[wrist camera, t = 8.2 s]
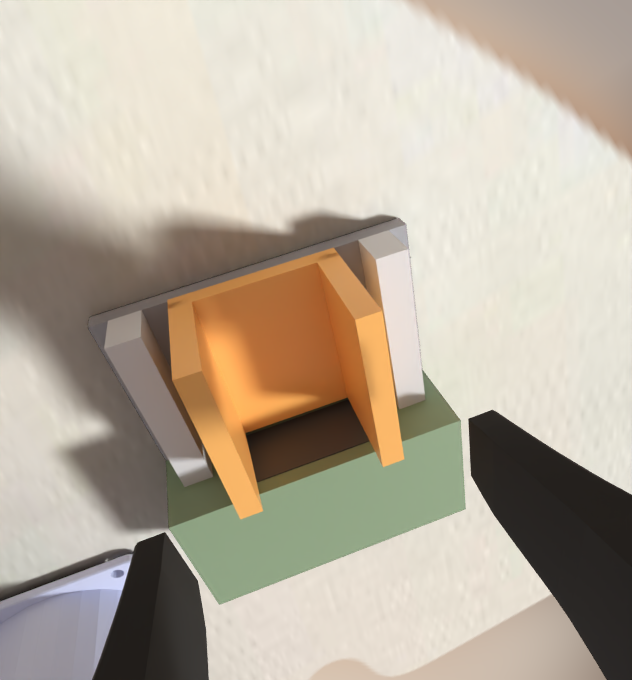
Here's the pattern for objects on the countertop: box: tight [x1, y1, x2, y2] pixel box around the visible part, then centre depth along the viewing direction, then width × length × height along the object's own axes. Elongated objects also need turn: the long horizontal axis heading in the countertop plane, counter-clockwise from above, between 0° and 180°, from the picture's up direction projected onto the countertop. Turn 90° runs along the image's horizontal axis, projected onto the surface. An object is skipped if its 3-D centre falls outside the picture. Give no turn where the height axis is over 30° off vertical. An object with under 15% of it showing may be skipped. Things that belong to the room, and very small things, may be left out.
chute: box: [167, 247, 404, 520], centre depth 15 cm, size 5×6×4 cm
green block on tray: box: [88, 218, 466, 605], centre depth 17 cm, size 10×11×4 cm
